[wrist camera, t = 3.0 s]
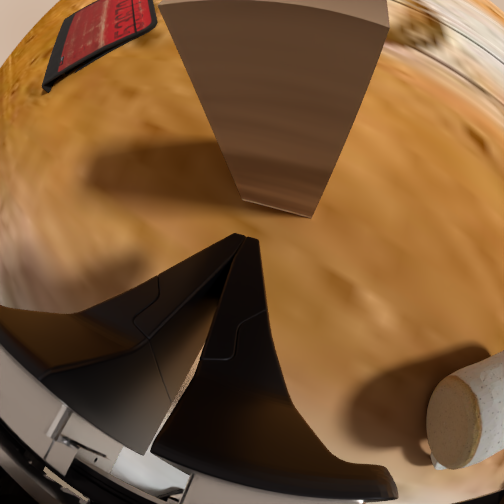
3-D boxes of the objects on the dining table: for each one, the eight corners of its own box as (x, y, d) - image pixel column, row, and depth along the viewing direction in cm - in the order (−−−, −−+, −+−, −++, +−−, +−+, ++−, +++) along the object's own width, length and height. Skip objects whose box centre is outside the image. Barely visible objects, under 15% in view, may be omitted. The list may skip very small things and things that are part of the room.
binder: (39, 86, 20) (62, 19, 23) (49, 95, 22) (67, 27, 25) (158, 20, 20) (147, -24, 23) (163, 34, 22) (151, -15, 25)
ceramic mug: (424, 364, 15) (491, 400, 7) (498, 336, 14) (563, 349, 7) (407, 473, 14) (442, 526, 6) (479, 441, 13) (523, 474, 5)
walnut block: (311, 218, 17) (389, 27, 3) (242, 200, 17) (157, 5, 4) (325, 156, 17) (380, -36, 3) (261, 140, 18) (230, -54, 4)
